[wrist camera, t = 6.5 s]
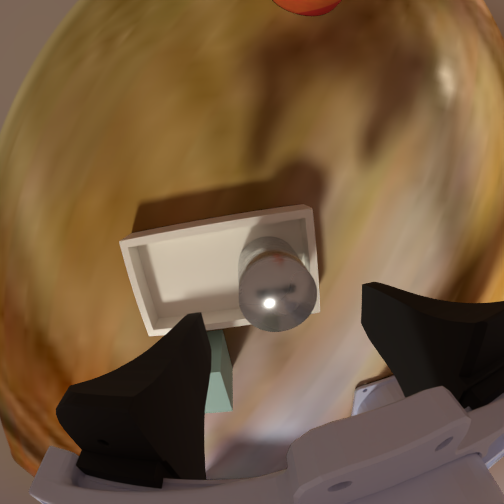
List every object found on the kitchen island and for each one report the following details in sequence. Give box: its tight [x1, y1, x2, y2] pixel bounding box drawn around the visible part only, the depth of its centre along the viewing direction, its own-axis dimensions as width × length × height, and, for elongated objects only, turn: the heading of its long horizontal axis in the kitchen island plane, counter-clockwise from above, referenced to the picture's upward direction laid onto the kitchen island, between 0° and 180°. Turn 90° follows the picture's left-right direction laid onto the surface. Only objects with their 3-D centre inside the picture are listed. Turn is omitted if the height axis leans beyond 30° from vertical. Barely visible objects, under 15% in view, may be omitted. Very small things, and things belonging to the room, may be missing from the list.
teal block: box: [205, 330, 233, 413], centre depth 19 cm, size 4×4×5 cm
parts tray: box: [119, 204, 320, 336], centre depth 18 cm, size 12×7×2 cm, turn 98°
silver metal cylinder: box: [238, 236, 317, 332], centre depth 16 cm, size 4×4×5 cm
